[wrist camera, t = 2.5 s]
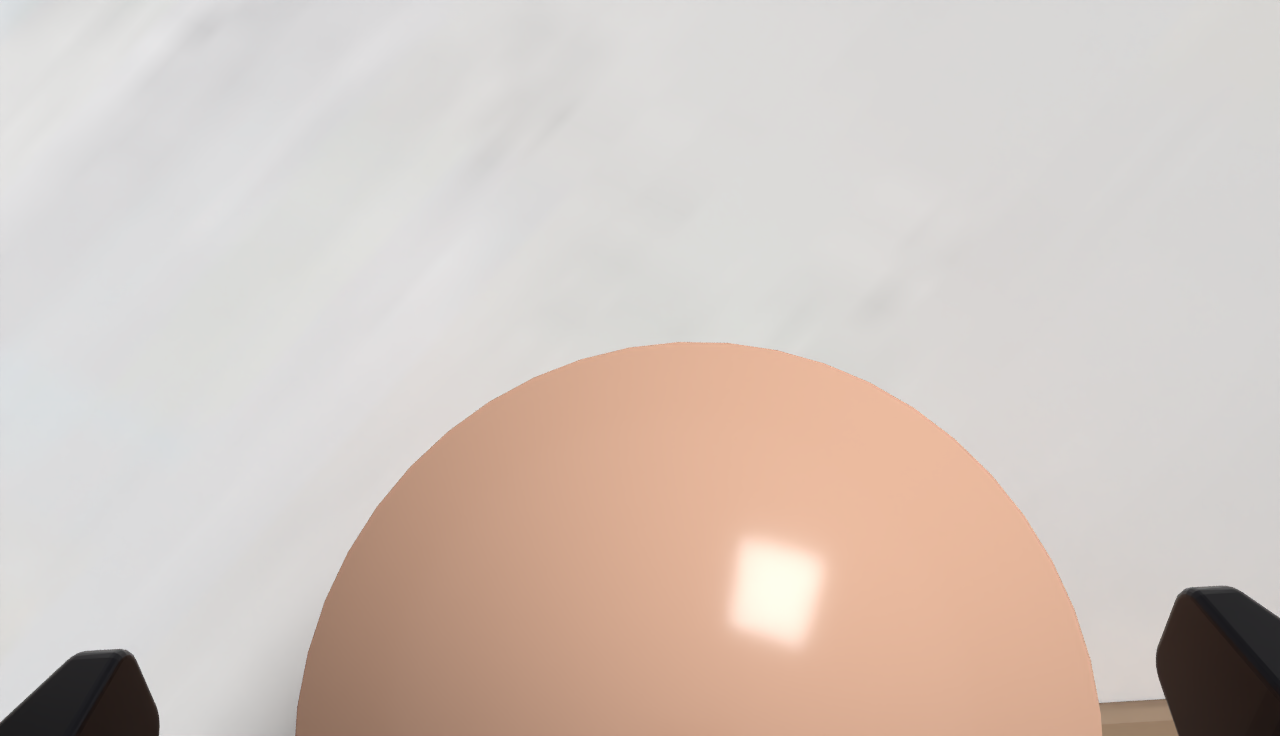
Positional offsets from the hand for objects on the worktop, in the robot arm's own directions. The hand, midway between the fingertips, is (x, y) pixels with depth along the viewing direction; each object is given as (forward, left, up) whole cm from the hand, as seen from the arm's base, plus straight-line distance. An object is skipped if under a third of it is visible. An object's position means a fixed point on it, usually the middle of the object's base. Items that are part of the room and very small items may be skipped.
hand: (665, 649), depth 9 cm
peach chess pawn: (0, 0, -8) cm, 8 cm away
